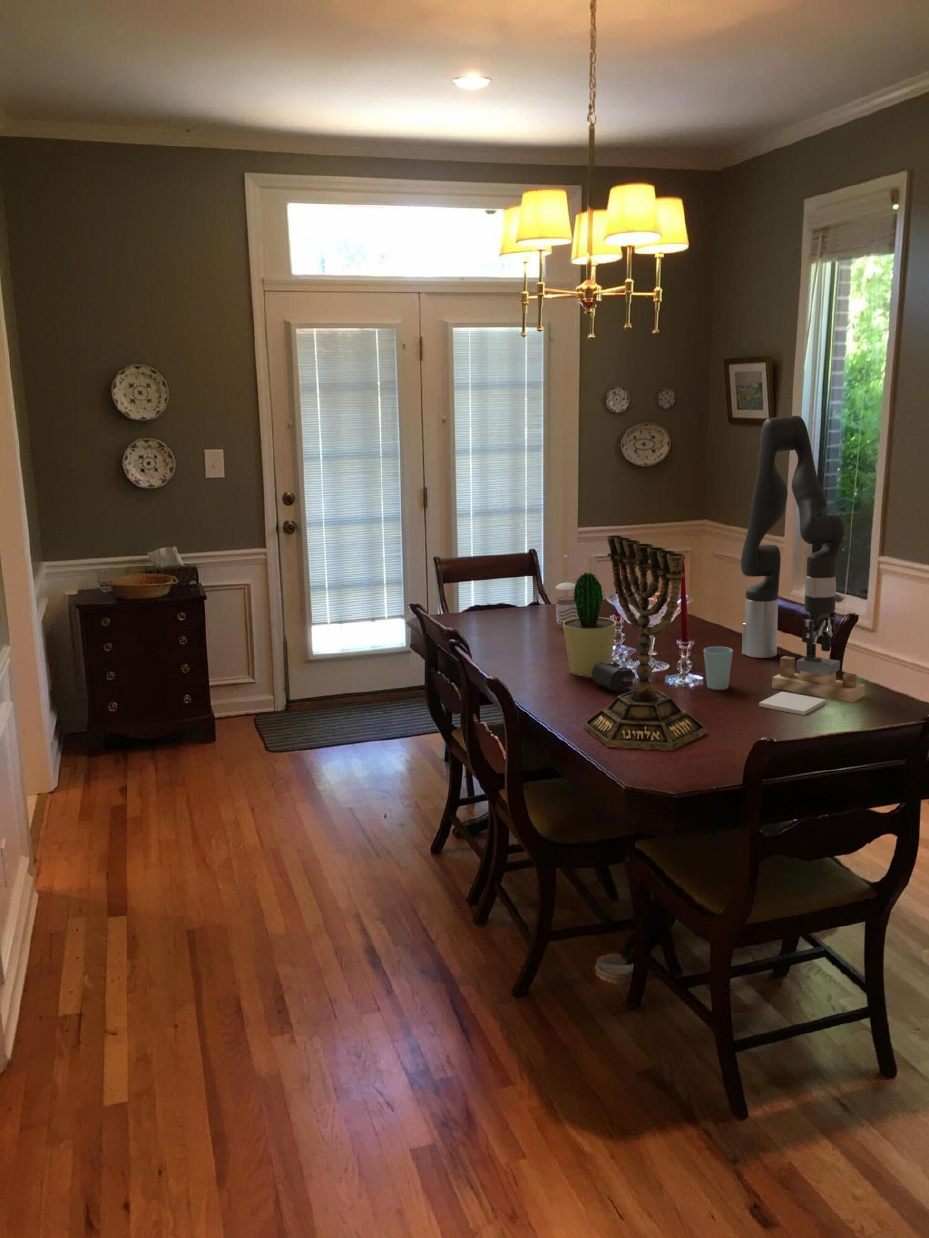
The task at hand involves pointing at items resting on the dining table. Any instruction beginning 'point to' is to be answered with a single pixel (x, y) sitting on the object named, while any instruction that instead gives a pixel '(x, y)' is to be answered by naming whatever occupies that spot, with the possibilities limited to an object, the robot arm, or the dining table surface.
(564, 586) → the french press
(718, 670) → the cup
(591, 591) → the potted cactus
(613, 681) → the end cap
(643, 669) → the menorah
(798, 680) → the plane body
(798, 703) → the bench mat
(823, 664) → the lever cap
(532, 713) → the dining table surface
